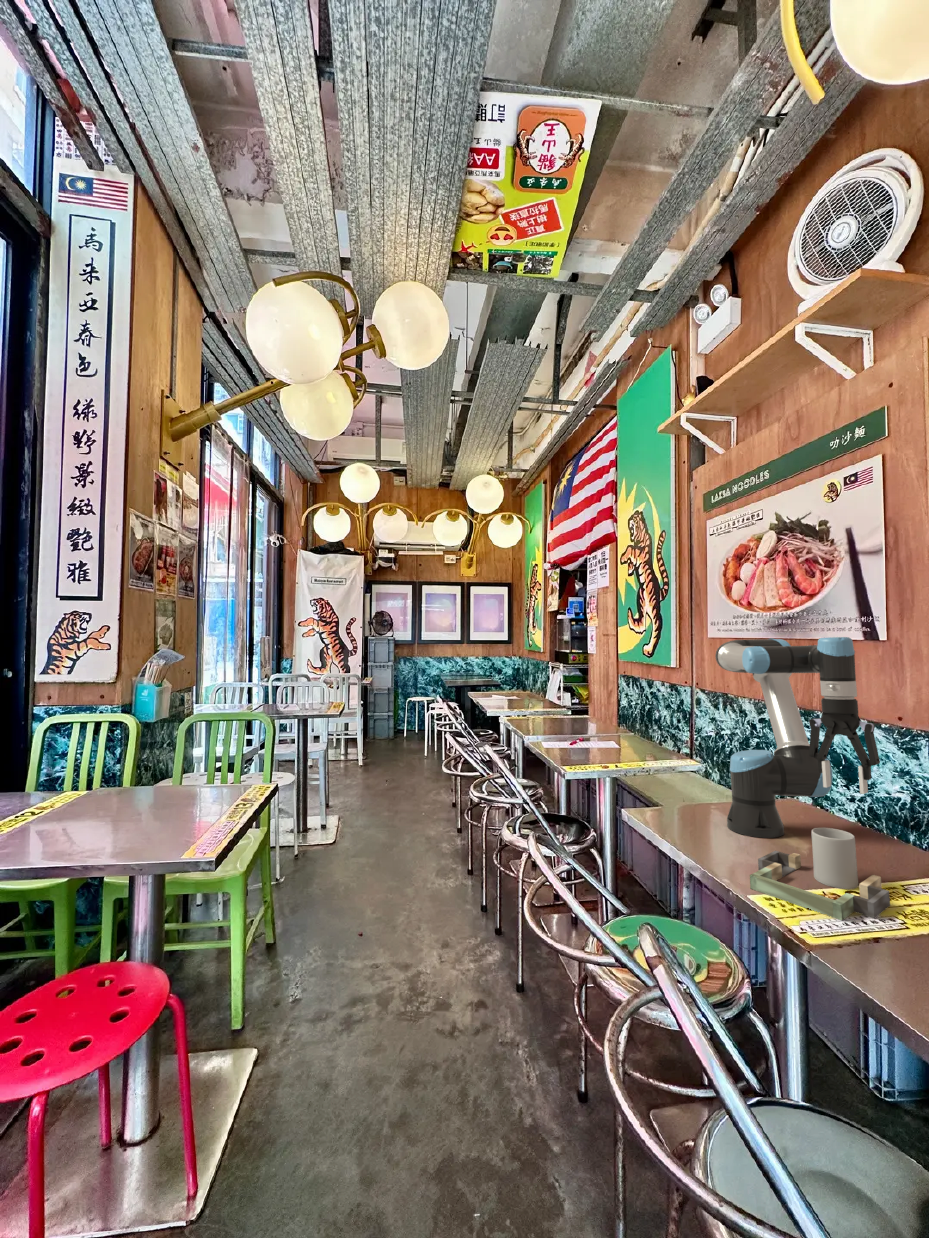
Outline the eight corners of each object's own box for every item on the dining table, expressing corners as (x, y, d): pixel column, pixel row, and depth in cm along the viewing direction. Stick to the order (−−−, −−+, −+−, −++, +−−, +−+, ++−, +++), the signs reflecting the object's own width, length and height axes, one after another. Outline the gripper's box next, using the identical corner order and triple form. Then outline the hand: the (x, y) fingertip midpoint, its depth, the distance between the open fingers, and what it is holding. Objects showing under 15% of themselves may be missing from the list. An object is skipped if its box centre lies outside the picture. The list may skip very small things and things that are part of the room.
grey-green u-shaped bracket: (779, 860, 134) (779, 848, 135) (901, 896, 114) (900, 882, 114) (735, 883, 122) (734, 870, 122) (862, 927, 101) (861, 911, 102)
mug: (863, 891, 116) (860, 841, 117) (818, 885, 120) (815, 837, 121) (848, 871, 127) (845, 825, 128) (807, 866, 131) (804, 821, 132)
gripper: (789, 696, 138) (794, 784, 137) (882, 701, 122) (889, 800, 120) (802, 694, 143) (807, 779, 141) (893, 699, 126) (900, 795, 125)
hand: (845, 789), depth 131 cm, fingers open, 7 cm apart
